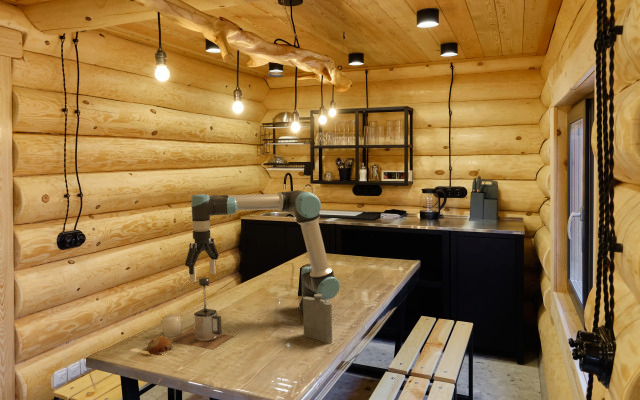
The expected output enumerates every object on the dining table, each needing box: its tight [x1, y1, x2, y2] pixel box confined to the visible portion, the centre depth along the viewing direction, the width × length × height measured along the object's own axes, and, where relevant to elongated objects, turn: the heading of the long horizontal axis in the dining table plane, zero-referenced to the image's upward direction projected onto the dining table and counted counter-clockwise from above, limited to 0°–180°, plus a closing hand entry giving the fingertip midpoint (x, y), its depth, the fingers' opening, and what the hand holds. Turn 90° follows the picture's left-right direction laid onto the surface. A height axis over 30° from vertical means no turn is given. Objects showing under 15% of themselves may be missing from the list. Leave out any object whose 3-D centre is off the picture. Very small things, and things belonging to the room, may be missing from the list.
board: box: [170, 327, 235, 351], centre depth 219 cm, size 24×16×1 cm, turn 65°
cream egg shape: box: [160, 314, 182, 338], centre depth 224 cm, size 9×8×9 cm
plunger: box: [198, 277, 213, 317], centre depth 218 cm, size 7×7×18 cm
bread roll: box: [147, 335, 174, 356], centre depth 209 cm, size 10×10×8 cm
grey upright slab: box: [302, 294, 333, 345], centre depth 218 cm, size 16×4×20 cm, turn 49°
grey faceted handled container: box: [193, 308, 223, 341], centre depth 219 cm, size 13×10×12 cm
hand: (203, 277), depth 217 cm, fingers open, 13 cm apart
